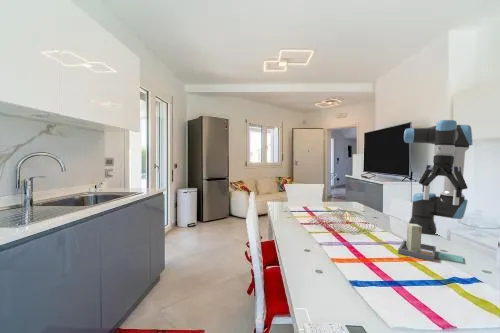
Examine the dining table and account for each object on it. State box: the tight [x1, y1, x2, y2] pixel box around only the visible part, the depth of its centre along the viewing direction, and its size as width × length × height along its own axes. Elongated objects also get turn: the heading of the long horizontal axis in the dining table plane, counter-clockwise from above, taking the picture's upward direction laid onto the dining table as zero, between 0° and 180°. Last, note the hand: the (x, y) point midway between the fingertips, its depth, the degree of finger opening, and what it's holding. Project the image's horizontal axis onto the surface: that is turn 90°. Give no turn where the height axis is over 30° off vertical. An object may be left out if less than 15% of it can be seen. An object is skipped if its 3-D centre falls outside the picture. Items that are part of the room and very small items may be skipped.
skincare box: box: [405, 222, 422, 253], centre depth 131 cm, size 6×4×12 cm
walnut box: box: [420, 250, 432, 255], centre depth 123 cm, size 5×4×2 cm
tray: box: [397, 239, 437, 262], centre depth 129 cm, size 18×14×2 cm
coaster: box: [437, 251, 464, 264], centre depth 123 cm, size 9×9×1 cm
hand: (440, 202), depth 124 cm, fingers open, 13 cm apart
